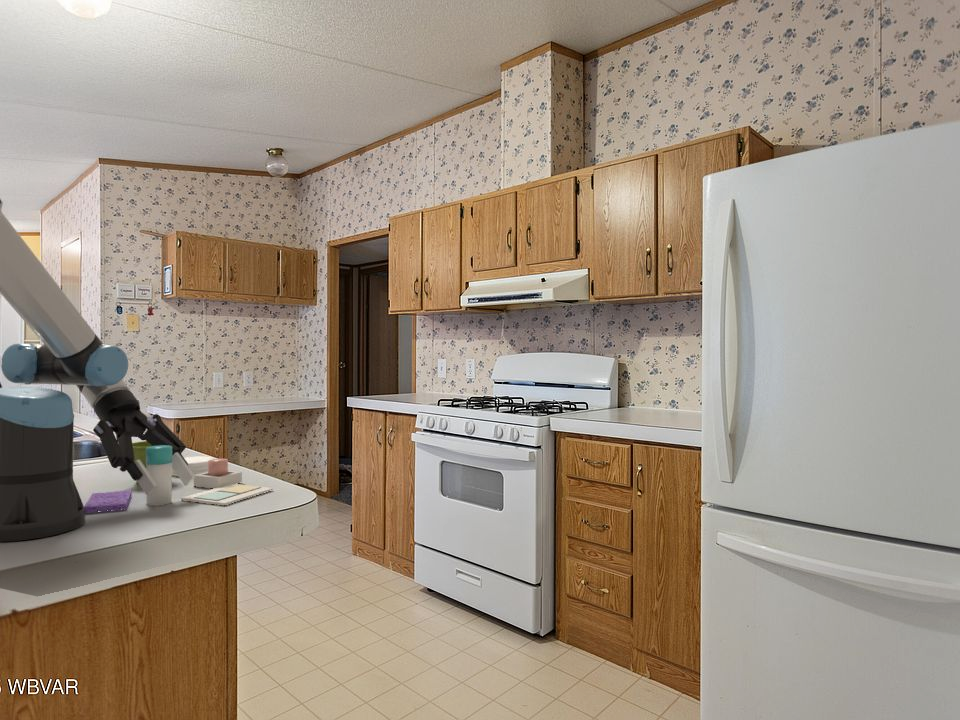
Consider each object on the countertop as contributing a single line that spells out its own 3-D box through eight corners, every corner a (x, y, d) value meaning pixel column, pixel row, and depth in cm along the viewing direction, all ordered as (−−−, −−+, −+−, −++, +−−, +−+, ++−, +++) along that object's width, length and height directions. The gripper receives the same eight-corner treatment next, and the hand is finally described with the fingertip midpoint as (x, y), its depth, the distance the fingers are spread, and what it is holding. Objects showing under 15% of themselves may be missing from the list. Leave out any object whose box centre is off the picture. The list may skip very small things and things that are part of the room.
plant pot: (160, 486, 137) (160, 446, 137) (118, 485, 137) (118, 446, 137) (182, 477, 147) (182, 440, 146) (142, 476, 147) (142, 440, 147)
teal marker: (158, 507, 120) (158, 449, 119) (140, 504, 121) (140, 448, 121) (177, 501, 124) (177, 446, 124) (160, 499, 125) (160, 444, 125)
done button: (218, 478, 136) (218, 462, 136) (204, 476, 138) (204, 461, 138) (231, 474, 140) (231, 459, 140) (217, 473, 141) (217, 458, 141)
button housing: (218, 489, 134) (218, 477, 134) (193, 486, 137) (193, 475, 137) (241, 483, 141) (241, 472, 141) (217, 480, 143) (217, 469, 143)
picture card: (224, 506, 120) (224, 502, 120) (181, 500, 124) (181, 497, 124) (272, 490, 134) (272, 487, 134) (232, 486, 137) (232, 483, 137)
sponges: (83, 516, 114) (83, 506, 114) (92, 501, 126) (92, 491, 126) (127, 512, 117) (126, 502, 117) (132, 497, 129) (132, 488, 129)
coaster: (175, 479, 145) (175, 464, 145) (165, 472, 153) (165, 458, 153) (220, 474, 151) (220, 460, 151) (208, 468, 159) (208, 454, 159)
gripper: (146, 408, 138) (203, 487, 132) (51, 417, 118) (112, 511, 112) (165, 384, 136) (223, 463, 130) (70, 390, 116) (134, 484, 110)
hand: (171, 485), depth 121 cm, fingers open, 8 cm apart
